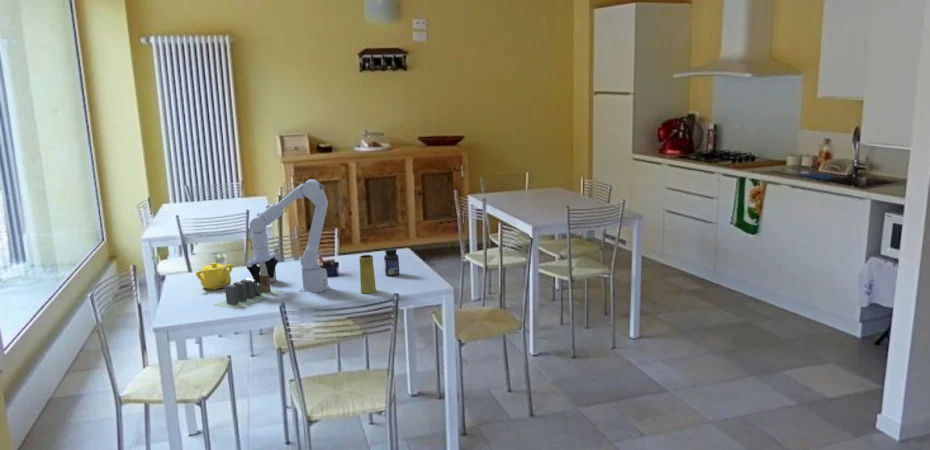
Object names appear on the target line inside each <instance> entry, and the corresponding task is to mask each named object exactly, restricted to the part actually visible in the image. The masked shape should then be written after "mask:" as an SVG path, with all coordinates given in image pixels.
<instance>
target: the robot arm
mask: <svg viewBox="0 0 930 450" xmlns="http://www.w3.org/2000/svg"><path fill="white" fill-rule="evenodd" d="M304 198H307V199H308V200H309V201H311V202H312V204H313V205H314V213H313V216H312V220H311V221H312V222H311V226H310V230H309V234H308V239H307V244H306V247H305V250H304V253H303V255H302V257H301V259H300V265H301V267H300V268H301V277H302V278H301V280H302V288H300V289H299V290H298V291H299V292H304V293H305V292H306V293H307V292H308V293H309V292H311V293H322V292H324V291H325V290H326V289H328V288H329V286H330V285H329V281H328V272H327V269H326V268H323V267H321V265H320V264H319V263H318V261H319V259H320V256H319V247H320V242H321V237H322V232H323V229H324V224H325V219H326V214H327V211H328V207H329V206H328V205H329V201H328V198H327V195H326V193H325V190H324V186H323V184H321V183H320V181H318V180H317V179H315V178H310V179H308V180H307V181H305V183H304V182H303V183H301V184H300V185H298V186H297V187H295V188H294V189H292V190H291V191H290V192H289V193H288V194H286V196H284V197H283V198H282V199H281V200H280V201H279V202H278V203H271V204H267V205H266V206H265V209H264V210H263V211H261V212H258V213H257V214H256V216H255V217H253V218H252V219H251V220H250V223H249V229H250V230H251V240H252V249H253V250H252V251H253V257H252V259H250V260H247V261H246V269H247V270H248V272H249V273H250V275H251V276H252V279H255V280H256V282H257V284H259V283H260V275H259V274H260V268H261V267H260V266H259V264H260V263H263V262H265V264H266V267H267V273H268V275H269V278H273V277H274V271H275V270H276V266H277V264H278V261H279V260H278V255H277V253H273V254H269V253H270V251H269V241H268V235H267V226H270V225H272V223H274V222H275V221H276V220H277V219H278V218H279V217H281V216H282V213H283V210H284V209H285V208H287V207H288V206H289V205H291V204H292V203H293V202H294V201H296V200H298V199H304Z"/></svg>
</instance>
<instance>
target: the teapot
mask: <svg viewBox="0 0 930 450" xmlns="http://www.w3.org/2000/svg"><path fill="white" fill-rule="evenodd" d="M232 270H233V264H231V263H230V264H229V263H228V264H225V265H224V264H220V263H217V262H211V263H210V264H205V265H204V266H202V268H201V270H197V271H196V272H195V275H196V277H197V279H198V280H199V281H200V285H201V286H202V287H203V288H205V289H207V290H211V291H216V290H217V289H221V288H225V286H226V285H231V283H232V278H231V272H232Z"/></svg>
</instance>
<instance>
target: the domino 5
mask: <svg viewBox="0 0 930 450" xmlns="http://www.w3.org/2000/svg"><path fill="white" fill-rule="evenodd" d="M259 275H260V283H258V286H259V288H260V290H261V291H262V292H264V293H269V292H271V290H270V289H271V283H270V279H269V275H266V274H259Z"/></svg>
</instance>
